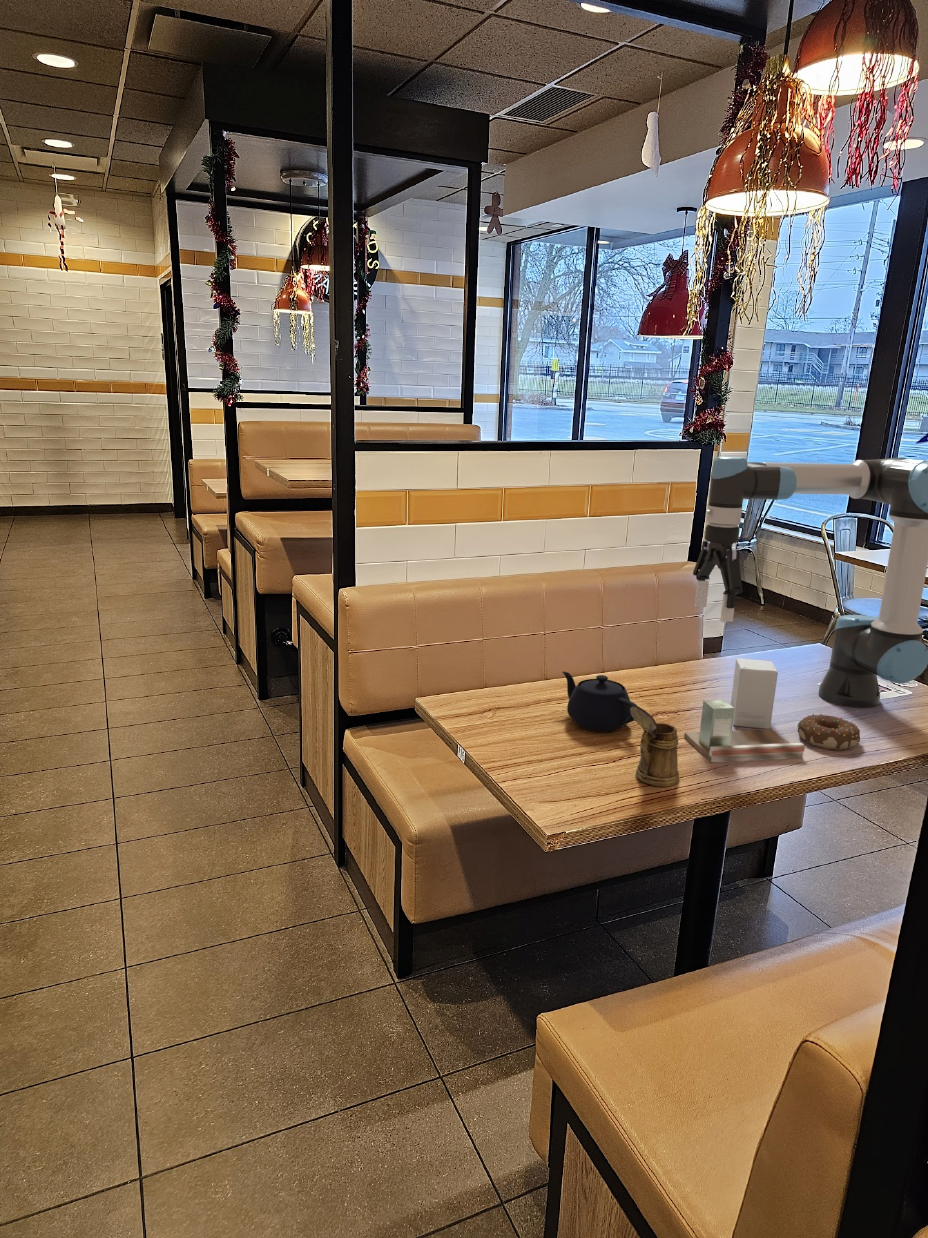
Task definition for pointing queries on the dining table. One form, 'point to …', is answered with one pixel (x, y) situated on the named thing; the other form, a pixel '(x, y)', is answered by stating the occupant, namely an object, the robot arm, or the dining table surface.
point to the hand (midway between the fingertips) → (713, 613)
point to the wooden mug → (656, 751)
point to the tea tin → (716, 723)
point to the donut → (829, 732)
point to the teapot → (598, 703)
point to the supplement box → (753, 693)
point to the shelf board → (749, 746)
